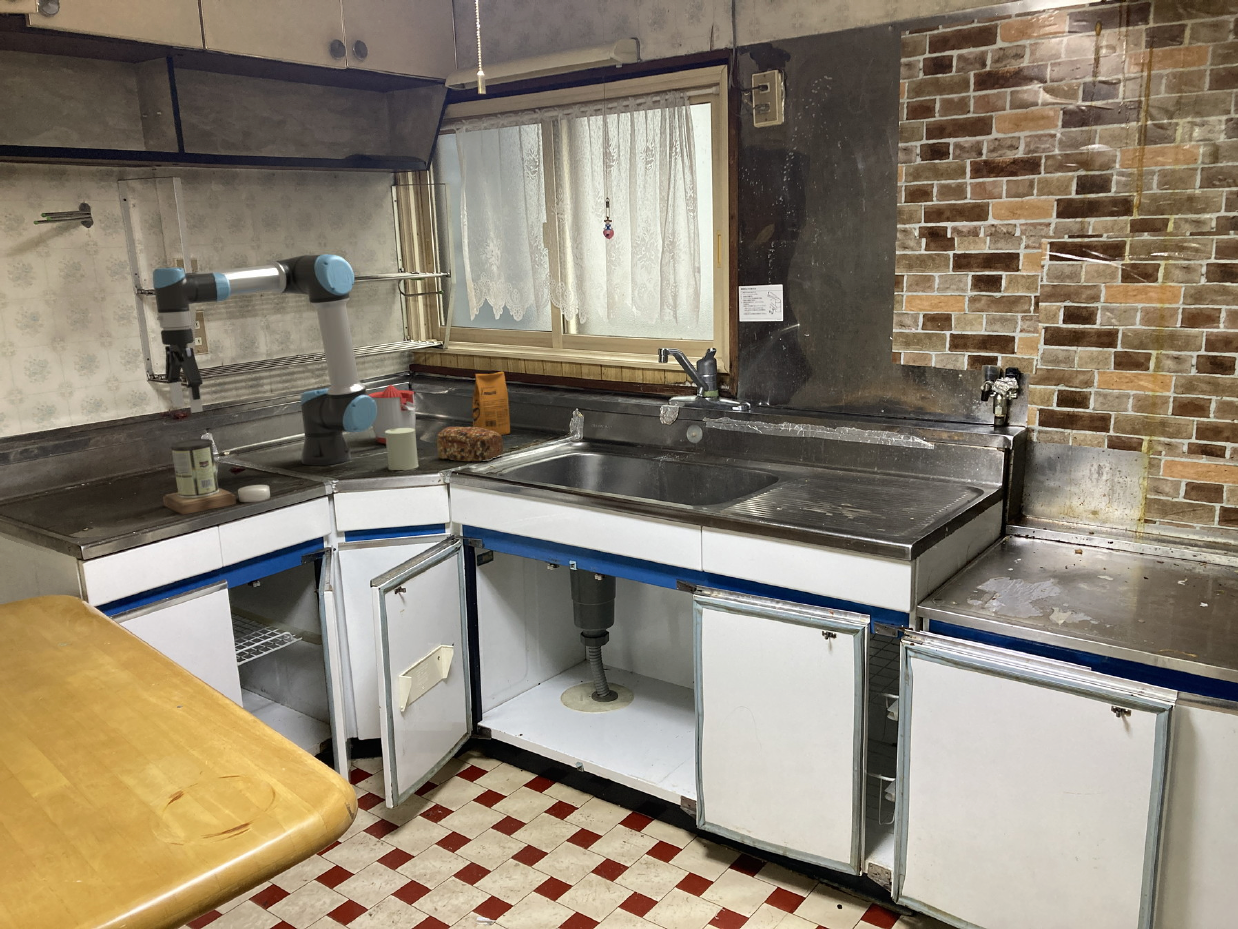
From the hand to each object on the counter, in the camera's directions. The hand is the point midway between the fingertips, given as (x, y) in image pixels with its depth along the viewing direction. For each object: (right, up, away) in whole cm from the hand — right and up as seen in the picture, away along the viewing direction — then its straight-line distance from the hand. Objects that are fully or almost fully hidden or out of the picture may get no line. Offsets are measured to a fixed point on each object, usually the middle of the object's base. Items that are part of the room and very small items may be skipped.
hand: (187, 409), depth 256 cm
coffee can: (+1, -23, +5) cm, 23 cm away
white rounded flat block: (+14, -24, +11) cm, 30 cm away
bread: (+67, -13, +52) cm, 86 cm away
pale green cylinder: (+48, -16, +42) cm, 65 cm away
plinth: (+1, -25, +6) cm, 26 cm away
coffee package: (+68, -4, +90) cm, 113 cm away
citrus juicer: (+36, -7, +83) cm, 91 cm away
